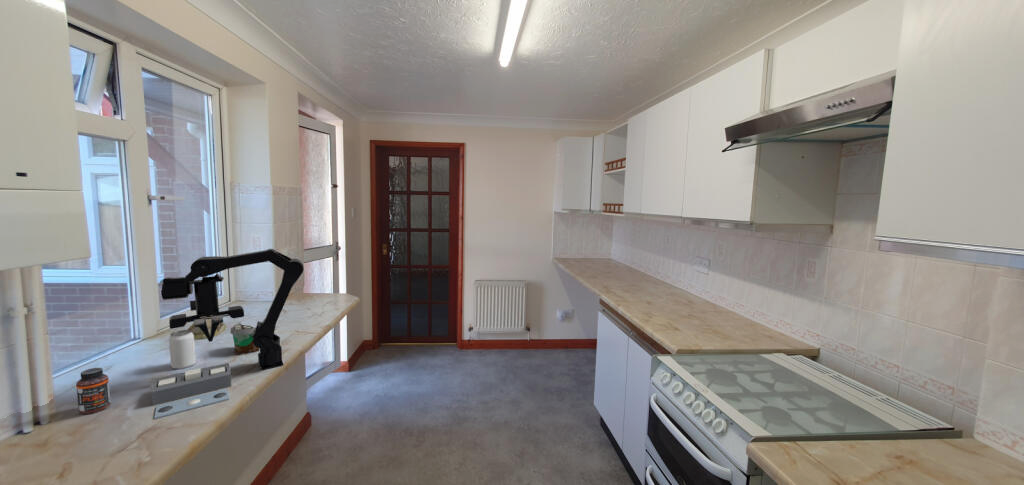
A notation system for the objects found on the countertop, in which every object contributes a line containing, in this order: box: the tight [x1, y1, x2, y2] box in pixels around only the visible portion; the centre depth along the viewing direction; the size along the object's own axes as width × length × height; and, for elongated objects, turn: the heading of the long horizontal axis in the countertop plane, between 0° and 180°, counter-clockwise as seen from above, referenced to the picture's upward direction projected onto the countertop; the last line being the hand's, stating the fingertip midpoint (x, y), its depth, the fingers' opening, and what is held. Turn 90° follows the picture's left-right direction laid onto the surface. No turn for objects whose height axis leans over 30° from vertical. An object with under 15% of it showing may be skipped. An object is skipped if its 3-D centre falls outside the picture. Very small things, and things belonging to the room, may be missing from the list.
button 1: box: [158, 377, 176, 387], centre depth 110 cm, size 4×4×2 cm
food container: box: [229, 321, 260, 355], centre depth 141 cm, size 12×6×10 cm, turn 68°
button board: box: [150, 362, 232, 406], centre depth 114 cm, size 18×10×4 cm, turn 130°
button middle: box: [184, 367, 202, 381], centre depth 114 cm, size 4×4×2 cm
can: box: [168, 329, 197, 370], centre depth 129 cm, size 6×6×12 cm
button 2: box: [211, 367, 225, 375], centre depth 118 cm, size 4×4×2 cm
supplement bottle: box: [75, 367, 112, 415], centre depth 102 cm, size 6×6×11 cm
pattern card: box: [153, 388, 230, 420], centre depth 107 cm, size 16×7×1 cm, turn 130°
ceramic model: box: [186, 315, 227, 341], centre depth 157 cm, size 14×11×10 cm
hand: (210, 341), depth 122 cm, fingers closed
